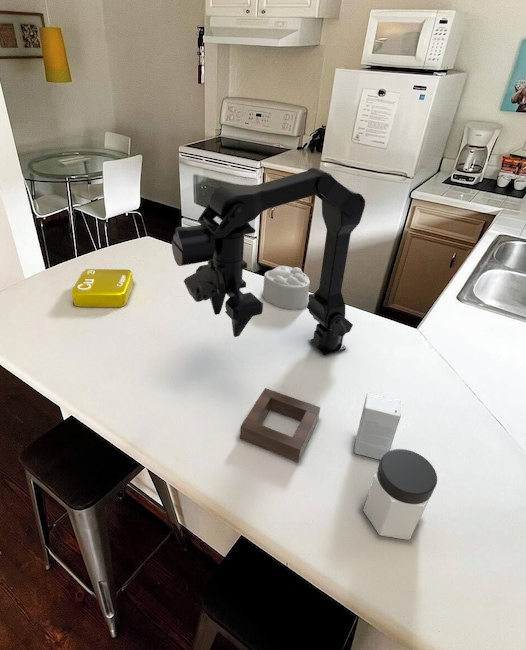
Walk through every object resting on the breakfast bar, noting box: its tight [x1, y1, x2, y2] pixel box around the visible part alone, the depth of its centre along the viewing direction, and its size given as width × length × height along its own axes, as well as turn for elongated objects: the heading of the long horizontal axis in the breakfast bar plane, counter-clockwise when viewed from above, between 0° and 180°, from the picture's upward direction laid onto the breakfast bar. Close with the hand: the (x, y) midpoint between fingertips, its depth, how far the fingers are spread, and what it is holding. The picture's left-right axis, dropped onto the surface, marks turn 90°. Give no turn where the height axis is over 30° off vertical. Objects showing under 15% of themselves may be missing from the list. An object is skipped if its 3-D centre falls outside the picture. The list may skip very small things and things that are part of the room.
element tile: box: [71, 268, 134, 308], centre depth 129 cm, size 15×15×5 cm
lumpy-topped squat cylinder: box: [262, 265, 311, 311], centre depth 126 cm, size 10×13×9 cm
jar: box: [362, 448, 438, 541], centre depth 70 cm, size 9×8×12 cm
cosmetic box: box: [353, 392, 402, 461], centre depth 81 cm, size 6×4×12 cm
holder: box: [239, 387, 321, 463], centre depth 87 cm, size 12×12×4 cm
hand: (226, 324), depth 92 cm, fingers open, 9 cm apart
